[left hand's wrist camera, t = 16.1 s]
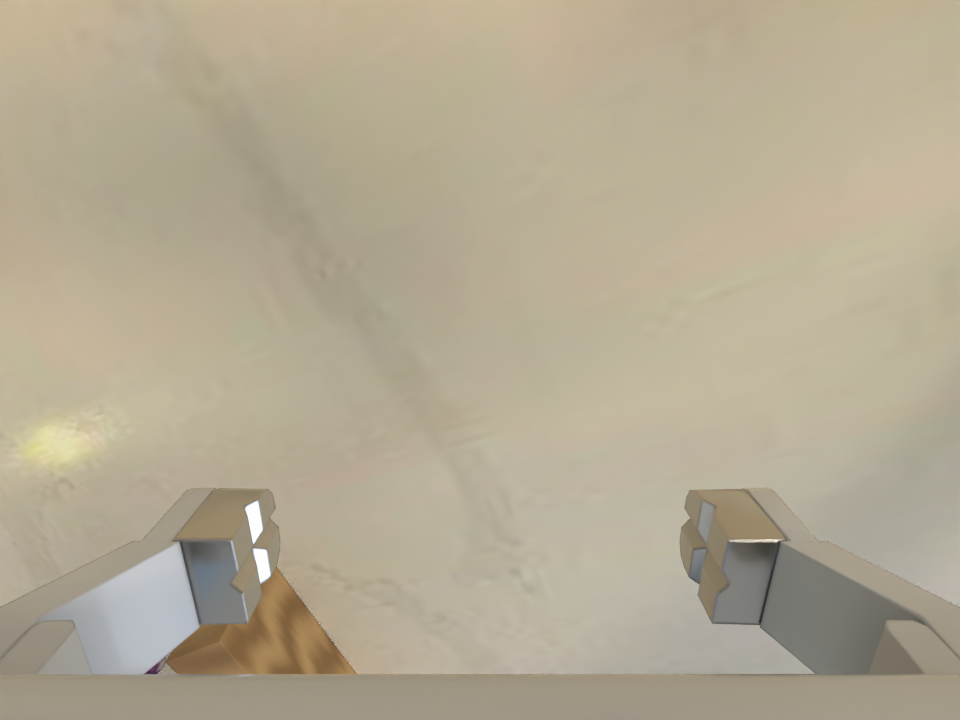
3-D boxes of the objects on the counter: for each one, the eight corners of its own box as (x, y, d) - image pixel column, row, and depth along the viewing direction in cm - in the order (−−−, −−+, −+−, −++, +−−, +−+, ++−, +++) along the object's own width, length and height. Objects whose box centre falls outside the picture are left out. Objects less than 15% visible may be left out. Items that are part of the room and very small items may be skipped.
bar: (221, 571, 49) (165, 661, 41) (266, 553, 49) (219, 641, 40) (360, 745, 58) (338, 851, 49) (400, 732, 57) (386, 837, 48)
